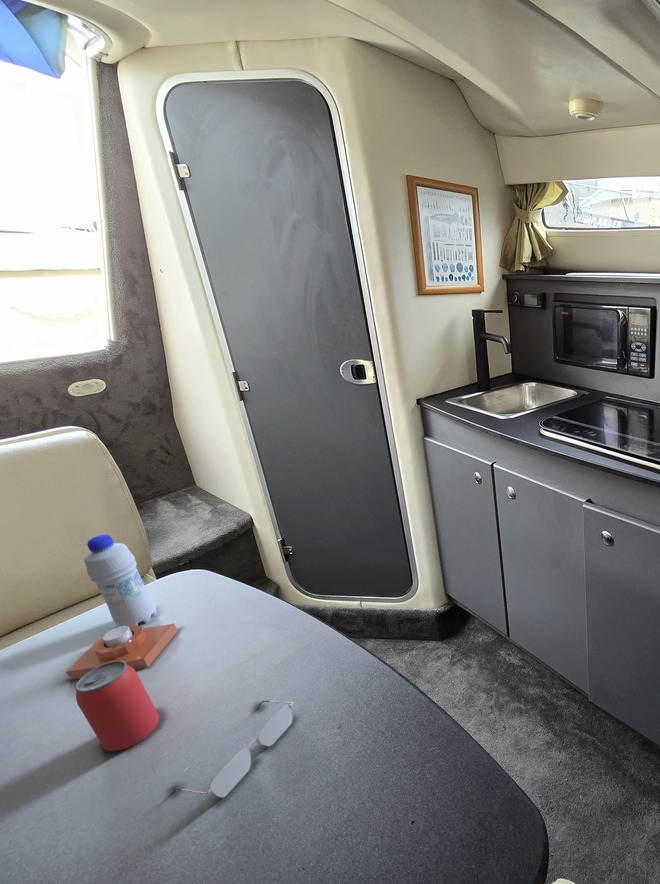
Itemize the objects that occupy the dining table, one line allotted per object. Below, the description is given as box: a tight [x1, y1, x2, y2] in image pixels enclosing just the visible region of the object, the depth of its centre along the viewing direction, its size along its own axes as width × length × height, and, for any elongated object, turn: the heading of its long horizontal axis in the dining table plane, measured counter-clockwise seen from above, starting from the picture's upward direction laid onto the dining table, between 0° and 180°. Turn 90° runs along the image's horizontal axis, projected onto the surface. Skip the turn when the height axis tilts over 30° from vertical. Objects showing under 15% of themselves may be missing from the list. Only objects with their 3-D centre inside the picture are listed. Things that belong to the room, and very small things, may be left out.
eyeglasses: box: [173, 700, 294, 798], centre depth 72 cm, size 14×8×4 cm, turn 165°
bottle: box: [83, 534, 157, 627], centre depth 96 cm, size 7×7×20 cm
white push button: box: [103, 626, 133, 647], centre depth 89 cm, size 4×4×2 cm
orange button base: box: [65, 623, 178, 681], centre depth 90 cm, size 12×9×4 cm
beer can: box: [74, 661, 160, 752], centre depth 74 cm, size 7×7×12 cm
